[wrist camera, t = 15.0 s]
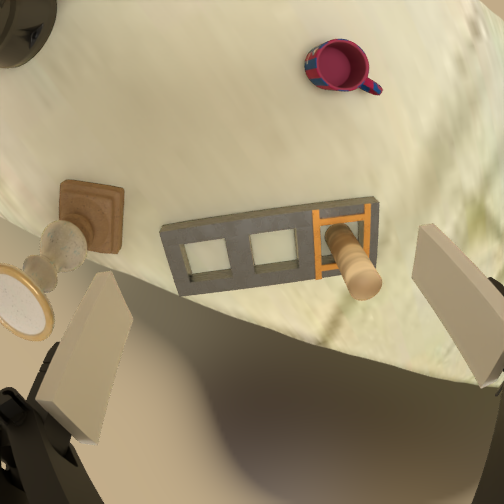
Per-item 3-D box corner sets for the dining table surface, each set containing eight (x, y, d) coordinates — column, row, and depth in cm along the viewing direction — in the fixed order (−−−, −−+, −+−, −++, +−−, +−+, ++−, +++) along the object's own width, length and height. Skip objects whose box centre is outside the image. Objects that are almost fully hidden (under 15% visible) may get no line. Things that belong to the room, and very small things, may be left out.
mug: (321, 35, 35) (335, 28, 29) (377, 78, 38) (398, 79, 32) (294, 71, 37) (304, 69, 32) (352, 113, 40) (370, 118, 34)
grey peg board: (162, 225, 48) (158, 233, 46) (373, 196, 47) (380, 203, 44) (181, 287, 54) (179, 297, 52) (370, 261, 53) (376, 270, 50)
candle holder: (121, 249, 50) (63, 355, 29) (66, 238, 49) (-8, 329, 28) (125, 188, 45) (46, 276, 24) (64, 178, 43) (-31, 253, 23)
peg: (324, 224, 49) (350, 274, 37) (350, 221, 49) (383, 269, 37) (325, 249, 51) (348, 303, 39) (350, 245, 51) (380, 297, 39)
